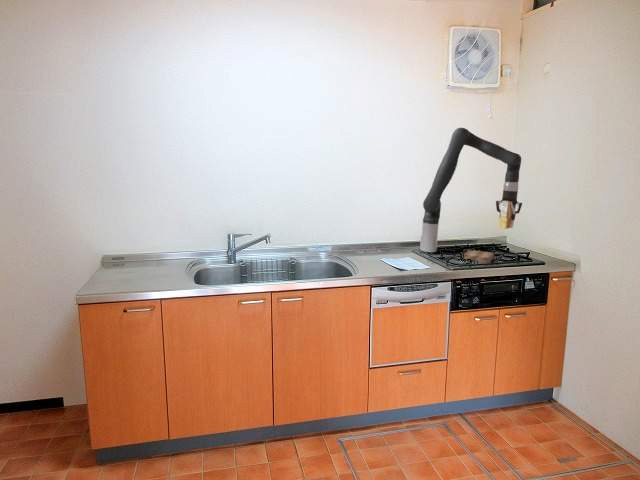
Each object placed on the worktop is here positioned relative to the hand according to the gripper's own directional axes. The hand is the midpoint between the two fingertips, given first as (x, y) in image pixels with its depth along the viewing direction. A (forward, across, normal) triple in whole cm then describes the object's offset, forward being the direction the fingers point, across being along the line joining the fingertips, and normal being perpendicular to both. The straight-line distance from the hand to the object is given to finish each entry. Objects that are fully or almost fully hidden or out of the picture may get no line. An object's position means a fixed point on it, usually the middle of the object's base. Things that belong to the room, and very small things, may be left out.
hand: (507, 219), depth 261 cm
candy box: (+5, 0, 0) cm, 5 cm away
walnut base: (+23, -12, -6) cm, 27 cm away
